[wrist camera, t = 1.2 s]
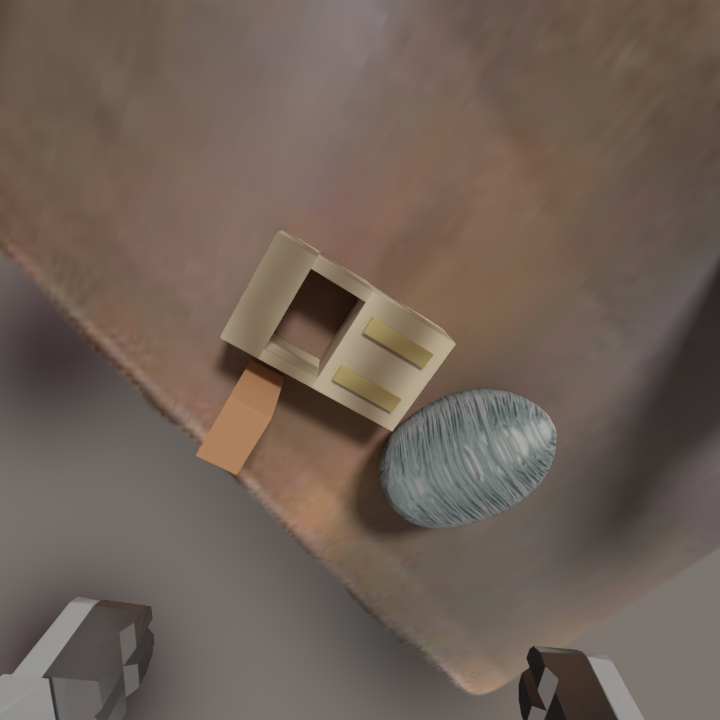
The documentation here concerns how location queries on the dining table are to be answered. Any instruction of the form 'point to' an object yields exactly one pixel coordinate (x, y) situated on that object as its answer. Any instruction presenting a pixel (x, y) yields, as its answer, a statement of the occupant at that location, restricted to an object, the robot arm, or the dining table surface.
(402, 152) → the dining table surface
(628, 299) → the dining table surface
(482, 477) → the spool
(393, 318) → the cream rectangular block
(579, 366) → the dining table surface
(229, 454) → the orange rectangular block
